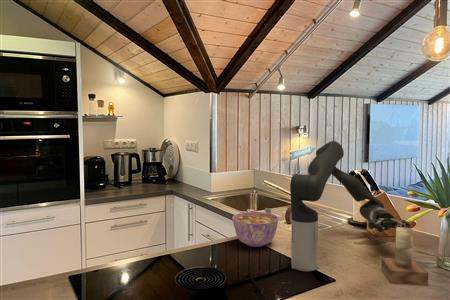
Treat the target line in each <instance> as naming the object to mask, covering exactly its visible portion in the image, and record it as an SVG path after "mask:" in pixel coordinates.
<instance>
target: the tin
mask: <svg viewBox="0 0 450 300" xmlns="http://www.w3.org/2000/svg"><path fill="white" fill-rule="evenodd" d="M284 215H285V216H284V221H285V222H286V223H288V224H292V214H291V206H289V207H287V209H286V210H285V214H284Z"/></svg>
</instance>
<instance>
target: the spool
mask: <svg viewBox="0 0 450 300" xmlns="http://www.w3.org/2000/svg"><path fill="white" fill-rule="evenodd" d="M413 243H414V229H412V228H411V227H410V228H405V227H401V226H400V227H397V226H396V230H395V253H394V259H395V264H396V265H397V266H399V267H404V268H410V267H412V259H413Z"/></svg>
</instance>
